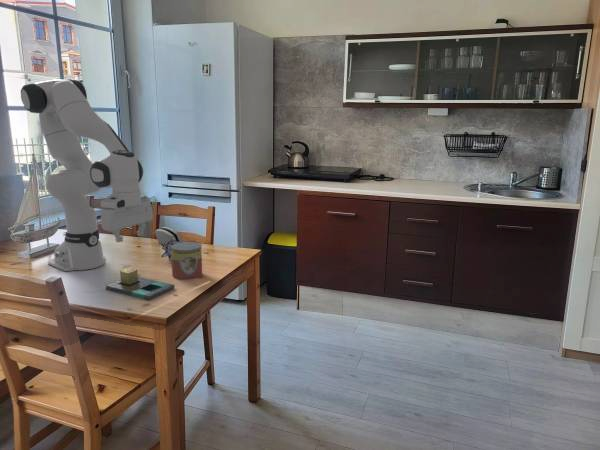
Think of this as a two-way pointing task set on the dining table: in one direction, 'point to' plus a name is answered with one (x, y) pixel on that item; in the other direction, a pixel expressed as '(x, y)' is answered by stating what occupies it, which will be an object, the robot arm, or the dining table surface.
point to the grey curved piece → (166, 235)
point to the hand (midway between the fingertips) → (130, 238)
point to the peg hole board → (142, 288)
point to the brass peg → (129, 277)
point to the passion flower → (169, 248)
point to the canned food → (186, 260)
